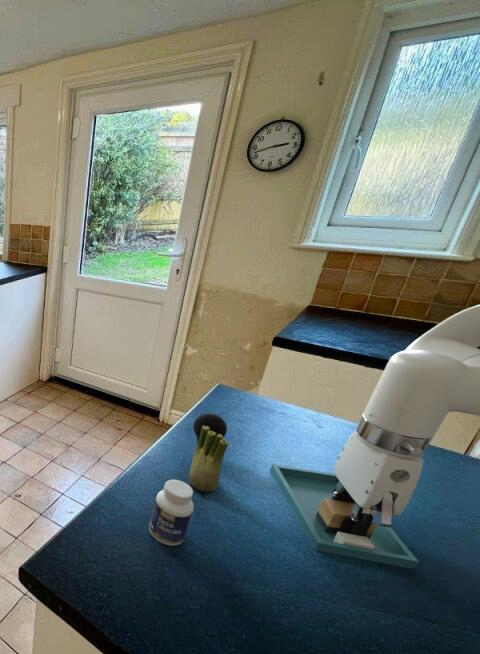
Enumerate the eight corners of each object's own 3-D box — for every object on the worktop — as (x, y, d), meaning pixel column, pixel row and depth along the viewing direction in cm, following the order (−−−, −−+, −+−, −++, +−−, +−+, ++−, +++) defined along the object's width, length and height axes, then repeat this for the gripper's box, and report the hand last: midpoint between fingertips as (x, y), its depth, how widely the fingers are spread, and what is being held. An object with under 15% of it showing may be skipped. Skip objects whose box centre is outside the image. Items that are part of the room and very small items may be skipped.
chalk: (362, 546, 65) (368, 537, 64) (369, 556, 63) (375, 547, 62) (332, 540, 66) (337, 531, 65) (338, 550, 64) (343, 541, 63)
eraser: (357, 523, 69) (367, 505, 67) (369, 540, 66) (380, 521, 64) (315, 515, 71) (323, 498, 69) (325, 531, 67) (334, 513, 66)
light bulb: (181, 446, 89) (192, 407, 85) (210, 448, 89) (222, 408, 84) (192, 464, 84) (204, 422, 80) (222, 465, 84) (236, 424, 79)
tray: (344, 484, 79) (349, 475, 78) (412, 571, 62) (419, 561, 61) (268, 472, 82) (272, 464, 81) (313, 552, 65) (318, 542, 64)
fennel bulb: (184, 473, 81) (198, 422, 76) (211, 478, 80) (228, 426, 75) (189, 494, 76) (205, 440, 71) (219, 499, 75) (237, 445, 70)
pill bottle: (149, 542, 67) (161, 495, 62) (147, 517, 71) (158, 473, 67) (186, 550, 65) (201, 503, 61) (181, 525, 70) (195, 480, 66)
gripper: (468, 475, 52) (401, 575, 60) (388, 409, 66) (344, 496, 74) (395, 465, 54) (340, 562, 62) (333, 402, 68) (295, 488, 76)
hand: (342, 525), depth 68 cm, fingers closed on eraser, 3 cm apart
